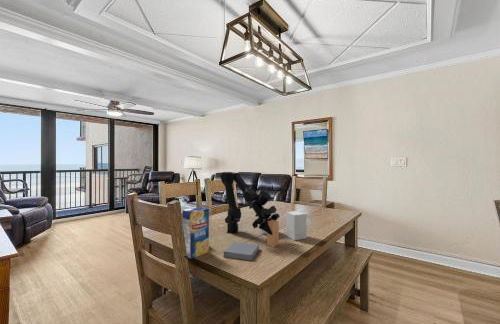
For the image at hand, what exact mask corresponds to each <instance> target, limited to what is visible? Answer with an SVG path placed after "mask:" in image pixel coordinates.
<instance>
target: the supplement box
mask: <svg viewBox="0 0 500 324" xmlns="http://www.w3.org/2000/svg"><path fill="white" fill-rule="evenodd" d="M307 218H308V217H307V213H305V212H302V211H299V210H294V211H287V212H286V237H287V238H289V239H290V240H293V241H300V240H306V239H307V228H308V227H307V225H308V223H307V220H308V219H307Z"/></svg>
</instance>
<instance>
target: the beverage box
mask: <svg viewBox="0 0 500 324" xmlns="http://www.w3.org/2000/svg"><path fill="white" fill-rule="evenodd" d="M183 229H184V237H185V245H186V252H187V257H186V258H188V259H193V258H197V257H199V256H200V257H201V256H202V255H204V254H208V253H209V252H210V251H209V250H210V247H209V246H210V231H209V230H210V209H209V208H207V207H202V206H197V207H193V208H188V209H187V208H186V209H182V230H183Z"/></svg>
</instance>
